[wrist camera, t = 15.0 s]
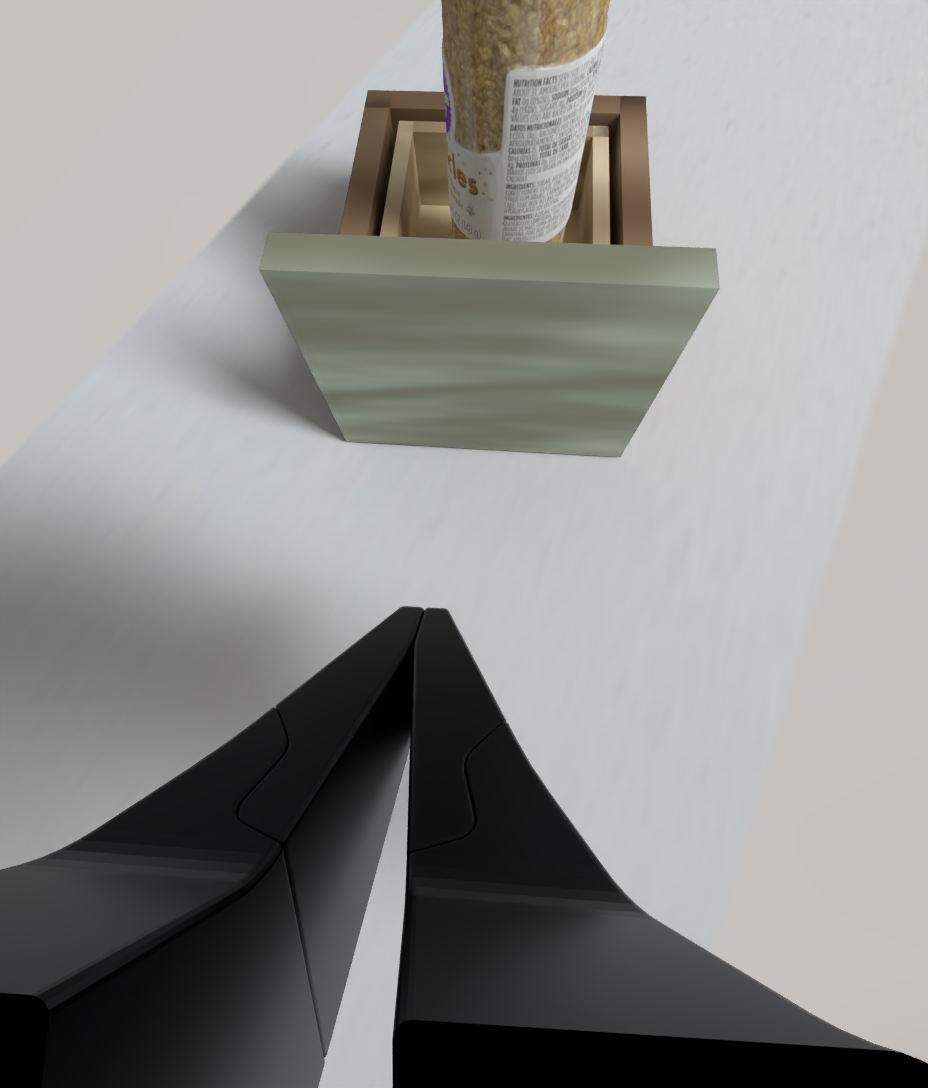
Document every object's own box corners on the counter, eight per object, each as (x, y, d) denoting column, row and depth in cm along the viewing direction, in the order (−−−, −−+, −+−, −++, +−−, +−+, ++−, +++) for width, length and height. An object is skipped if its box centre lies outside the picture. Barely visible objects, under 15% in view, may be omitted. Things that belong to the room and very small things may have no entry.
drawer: (620, 456, 20) (719, 288, 12) (346, 441, 20) (259, 269, 12) (616, 226, 23) (689, -25, 15) (383, 217, 24) (335, -29, 16)
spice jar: (437, 256, 21) (377, -415, 8) (536, 228, 22) (623, -458, 9) (471, 338, 20) (462, -308, 7) (577, 307, 20) (747, -365, 7)
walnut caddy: (619, 427, 20) (657, 352, 16) (351, 412, 21) (318, 337, 16) (615, 206, 24) (645, 96, 19) (387, 198, 24) (367, 90, 20)
